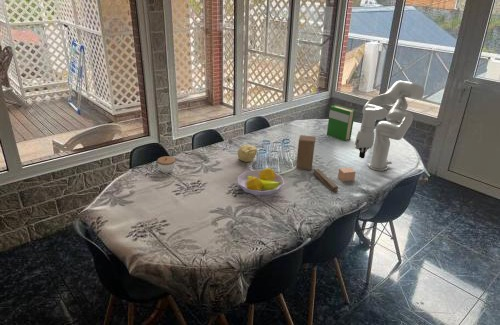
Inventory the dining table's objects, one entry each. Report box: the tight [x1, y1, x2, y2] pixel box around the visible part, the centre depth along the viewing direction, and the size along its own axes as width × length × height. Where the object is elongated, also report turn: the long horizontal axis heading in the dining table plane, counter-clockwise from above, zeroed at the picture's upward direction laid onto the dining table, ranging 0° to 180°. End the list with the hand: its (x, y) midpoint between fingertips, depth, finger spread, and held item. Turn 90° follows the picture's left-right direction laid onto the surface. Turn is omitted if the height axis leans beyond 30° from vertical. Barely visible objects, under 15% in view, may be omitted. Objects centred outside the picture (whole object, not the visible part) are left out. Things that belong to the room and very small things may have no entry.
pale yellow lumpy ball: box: [237, 144, 258, 163], centre depth 243 cm, size 12×12×11 cm
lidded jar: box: [156, 155, 176, 174], centre depth 223 cm, size 11×11×9 cm
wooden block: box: [295, 134, 316, 171], centre depth 235 cm, size 10×10×20 cm
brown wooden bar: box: [313, 168, 339, 193], centre depth 220 cm, size 3×24×3 cm, turn 18°
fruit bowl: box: [237, 167, 285, 196], centre depth 206 cm, size 28×27×11 cm
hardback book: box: [326, 104, 356, 142], centre depth 287 cm, size 18×7×24 cm, turn 43°
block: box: [337, 167, 356, 182], centre depth 224 cm, size 8×6×6 cm
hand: (361, 157), depth 222 cm, fingers closed
